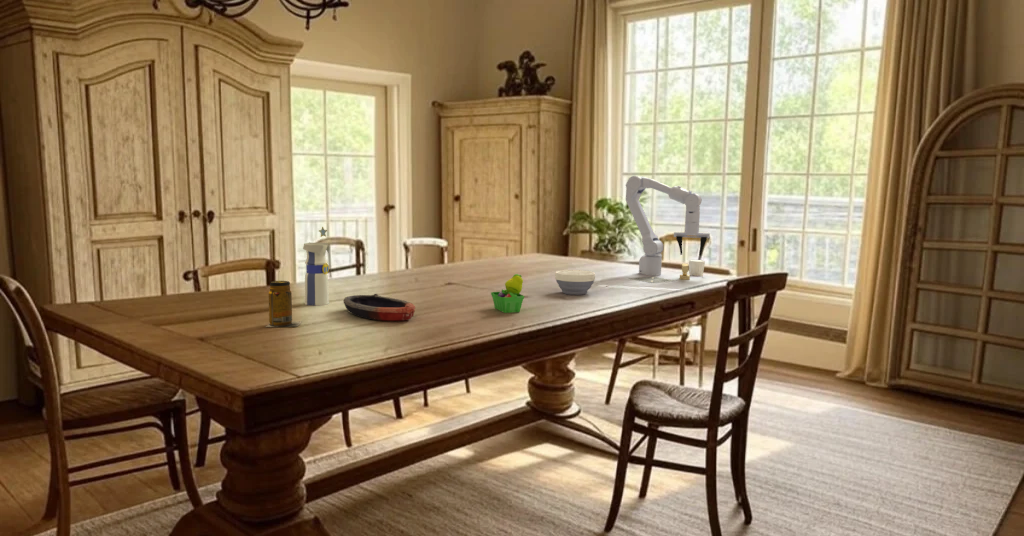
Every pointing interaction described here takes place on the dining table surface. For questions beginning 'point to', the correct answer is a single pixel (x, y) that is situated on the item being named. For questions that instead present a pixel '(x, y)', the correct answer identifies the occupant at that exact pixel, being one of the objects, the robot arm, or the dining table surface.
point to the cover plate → (652, 279)
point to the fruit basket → (509, 296)
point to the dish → (379, 307)
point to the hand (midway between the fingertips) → (690, 254)
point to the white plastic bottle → (316, 273)
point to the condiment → (280, 305)
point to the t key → (685, 272)
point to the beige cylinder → (696, 267)
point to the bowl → (574, 281)
